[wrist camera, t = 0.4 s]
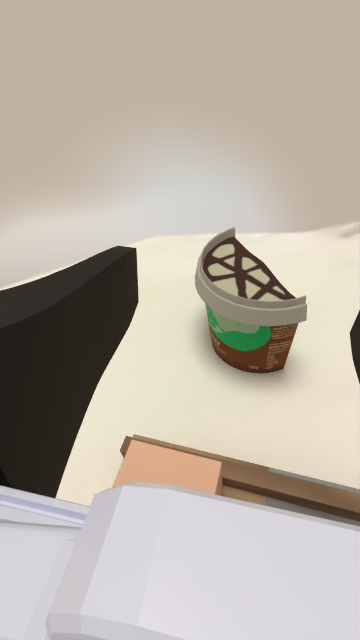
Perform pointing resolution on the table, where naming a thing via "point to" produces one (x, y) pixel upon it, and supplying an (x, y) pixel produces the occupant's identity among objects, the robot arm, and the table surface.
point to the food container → (246, 306)
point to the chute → (276, 487)
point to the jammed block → (169, 468)
